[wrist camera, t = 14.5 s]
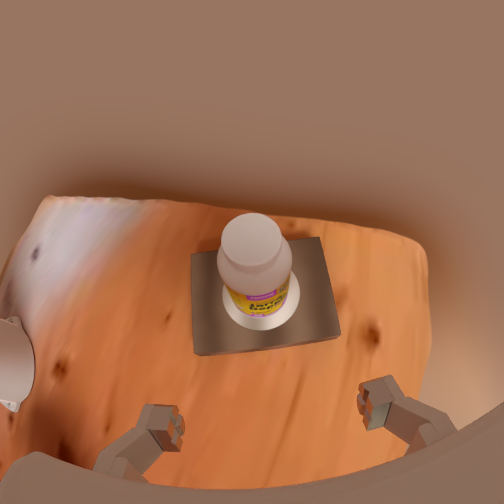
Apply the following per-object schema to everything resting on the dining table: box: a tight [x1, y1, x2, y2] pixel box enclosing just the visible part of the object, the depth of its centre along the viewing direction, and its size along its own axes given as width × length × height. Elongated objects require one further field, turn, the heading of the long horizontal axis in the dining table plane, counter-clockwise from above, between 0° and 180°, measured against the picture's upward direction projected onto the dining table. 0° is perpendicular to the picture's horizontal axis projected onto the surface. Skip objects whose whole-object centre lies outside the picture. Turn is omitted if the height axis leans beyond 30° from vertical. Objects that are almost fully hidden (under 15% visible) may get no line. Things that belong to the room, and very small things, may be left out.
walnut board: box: [191, 237, 341, 356], centre depth 34 cm, size 17×13×3 cm
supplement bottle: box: [217, 213, 292, 318], centre depth 27 cm, size 7×7×13 cm
